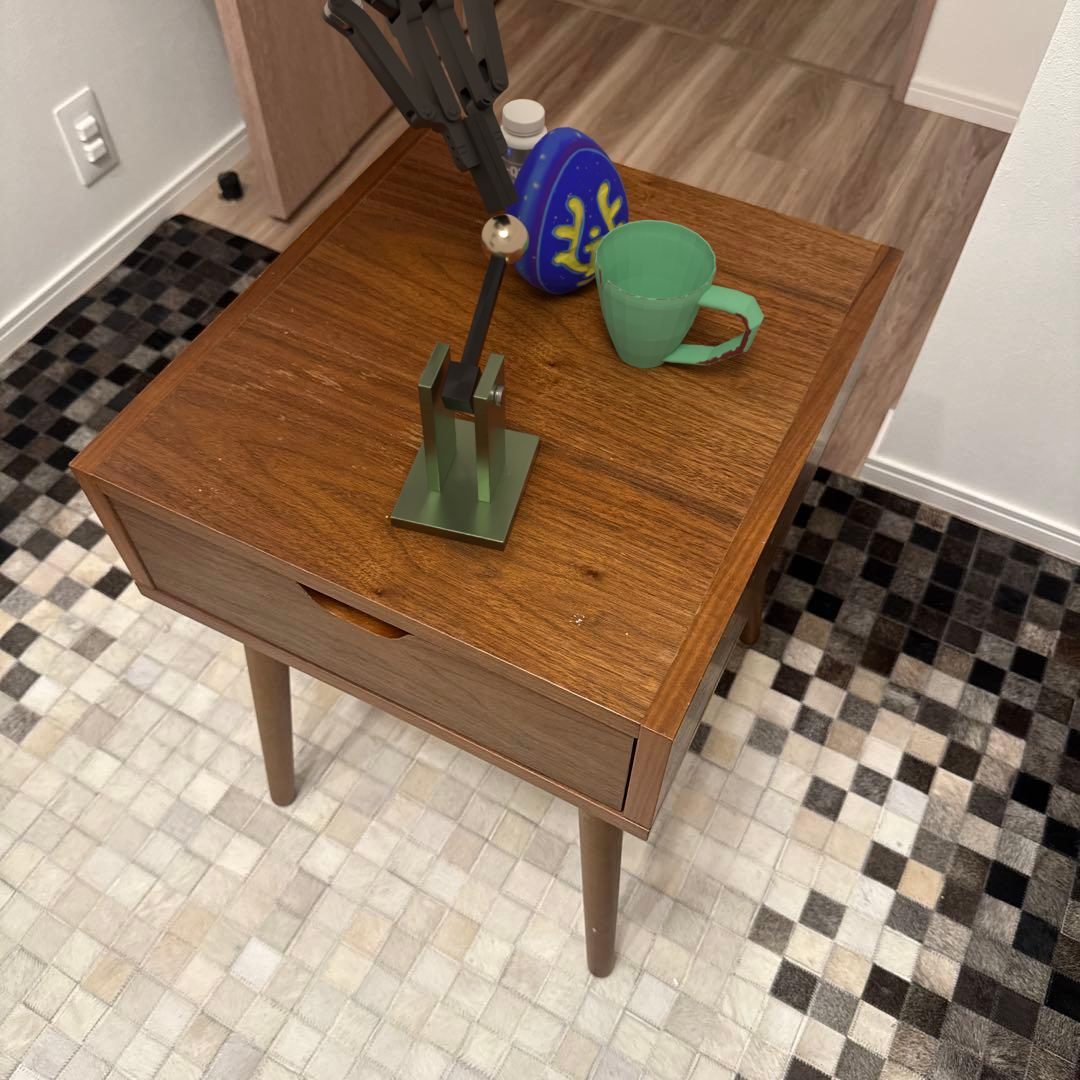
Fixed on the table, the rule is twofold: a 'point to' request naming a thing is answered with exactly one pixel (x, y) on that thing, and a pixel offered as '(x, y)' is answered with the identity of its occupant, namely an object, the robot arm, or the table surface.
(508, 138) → the pill bottle
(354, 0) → the robot arm
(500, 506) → the bracket
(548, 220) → the ornament
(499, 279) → the lever
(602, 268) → the mug
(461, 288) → the table surface
